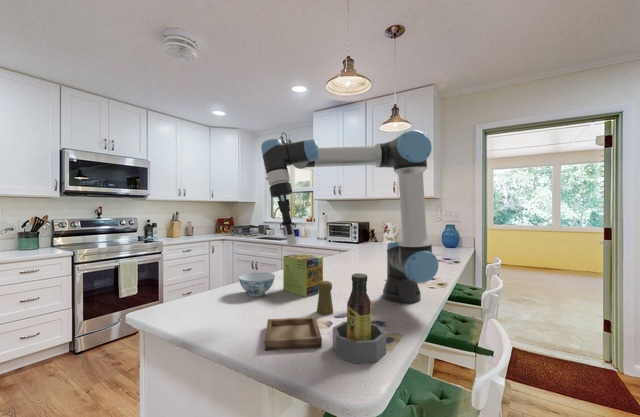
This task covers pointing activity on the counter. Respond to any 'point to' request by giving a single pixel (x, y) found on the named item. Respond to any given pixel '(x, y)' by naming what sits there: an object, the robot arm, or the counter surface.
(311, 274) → the protein box
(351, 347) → the holder cup
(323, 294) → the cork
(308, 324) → the tray
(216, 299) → the counter surface
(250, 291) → the chinaware
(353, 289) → the sauce bottle
